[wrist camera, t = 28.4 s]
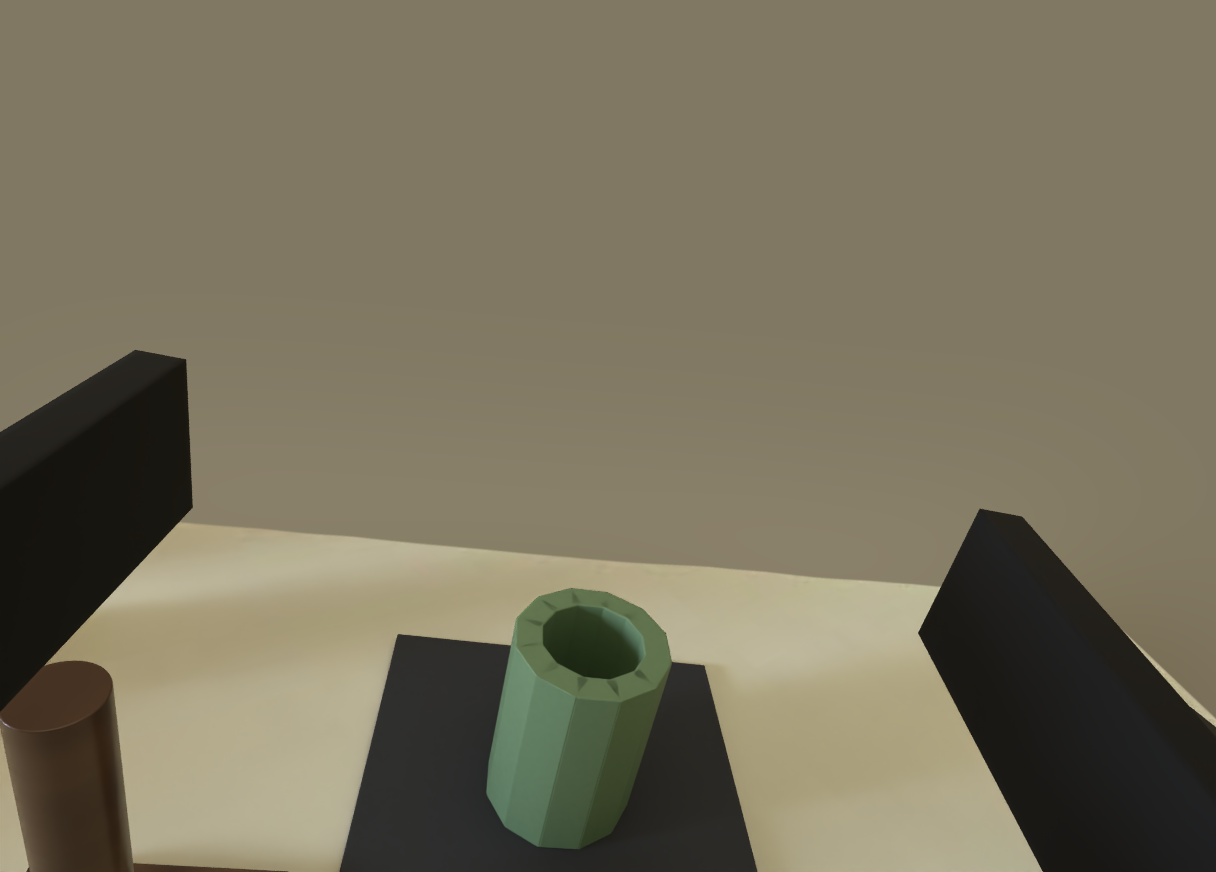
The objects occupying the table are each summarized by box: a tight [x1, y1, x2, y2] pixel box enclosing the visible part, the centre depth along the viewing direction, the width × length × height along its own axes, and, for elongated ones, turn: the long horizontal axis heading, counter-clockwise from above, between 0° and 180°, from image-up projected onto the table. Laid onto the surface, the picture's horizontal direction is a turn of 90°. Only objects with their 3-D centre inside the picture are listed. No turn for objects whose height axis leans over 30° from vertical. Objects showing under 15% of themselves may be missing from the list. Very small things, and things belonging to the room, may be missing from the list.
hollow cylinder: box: [486, 588, 672, 849], centre depth 38 cm, size 7×7×10 cm
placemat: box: [340, 634, 757, 872], centre depth 40 cm, size 20×20×1 cm
